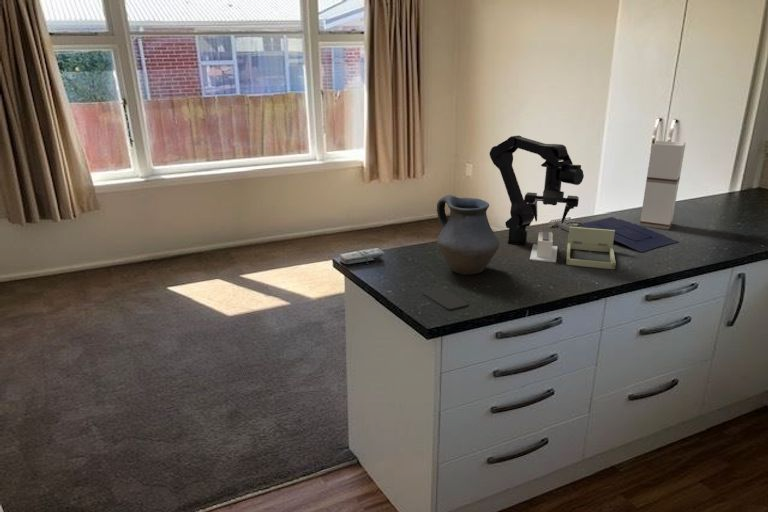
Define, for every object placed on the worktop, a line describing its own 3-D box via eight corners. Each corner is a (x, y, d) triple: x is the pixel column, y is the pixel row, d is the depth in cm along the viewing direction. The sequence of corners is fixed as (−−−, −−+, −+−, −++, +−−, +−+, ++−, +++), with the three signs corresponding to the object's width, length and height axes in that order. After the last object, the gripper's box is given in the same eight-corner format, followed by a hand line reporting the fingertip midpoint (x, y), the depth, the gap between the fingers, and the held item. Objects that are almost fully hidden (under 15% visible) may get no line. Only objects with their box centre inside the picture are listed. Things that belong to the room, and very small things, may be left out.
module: (536, 256, 206) (538, 239, 204) (537, 246, 217) (538, 230, 215) (551, 258, 205) (552, 240, 203) (551, 247, 216) (552, 231, 214)
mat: (529, 260, 205) (529, 258, 204) (533, 245, 221) (533, 244, 221) (555, 262, 202) (555, 261, 202) (557, 247, 218) (557, 246, 218)
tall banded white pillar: (672, 223, 249) (685, 142, 238) (668, 229, 241) (682, 145, 230) (643, 220, 255) (656, 140, 244) (639, 225, 247) (651, 143, 235)
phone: (440, 287, 179) (469, 304, 167) (440, 290, 179) (469, 306, 167) (420, 292, 176) (448, 309, 163) (420, 294, 176) (448, 312, 163)
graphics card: (547, 219, 245) (569, 216, 249) (546, 228, 246) (569, 224, 250) (574, 230, 230) (597, 226, 234) (573, 239, 231) (596, 235, 236)
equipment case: (566, 264, 200) (568, 242, 197) (567, 246, 219) (569, 226, 217) (615, 269, 195) (618, 247, 193) (611, 250, 214) (614, 230, 212)
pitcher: (482, 285, 182) (486, 209, 173) (421, 272, 192) (423, 200, 184) (505, 266, 198) (510, 196, 190) (448, 256, 209) (451, 188, 201)
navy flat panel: (613, 222, 248) (615, 214, 246) (677, 248, 225) (679, 239, 224) (575, 230, 235) (577, 222, 234) (639, 259, 213) (641, 250, 211)
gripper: (524, 182, 201) (520, 225, 206) (579, 186, 195) (574, 230, 200) (527, 176, 211) (524, 217, 216) (580, 180, 205) (576, 222, 210)
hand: (549, 222), depth 210 cm, fingers open, 9 cm apart
